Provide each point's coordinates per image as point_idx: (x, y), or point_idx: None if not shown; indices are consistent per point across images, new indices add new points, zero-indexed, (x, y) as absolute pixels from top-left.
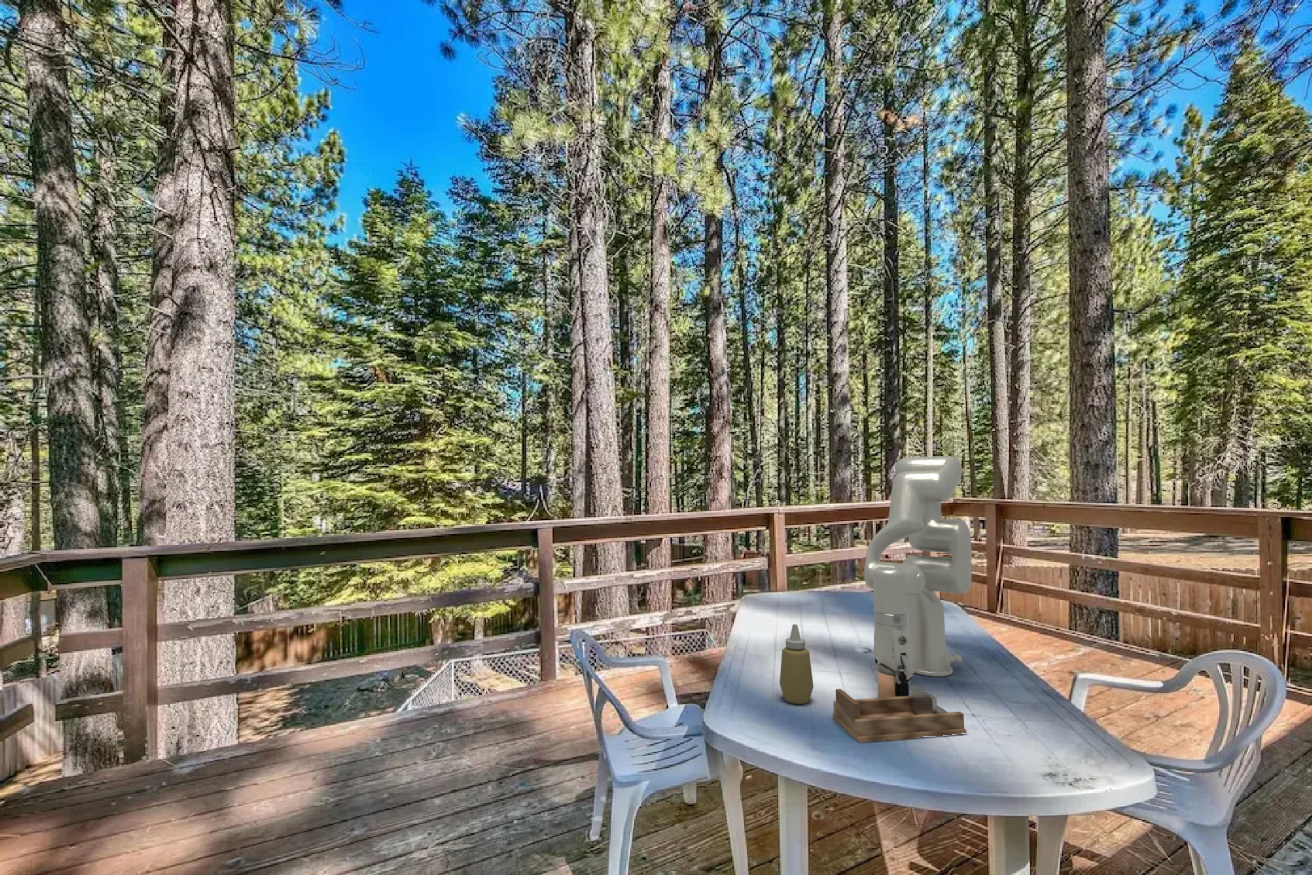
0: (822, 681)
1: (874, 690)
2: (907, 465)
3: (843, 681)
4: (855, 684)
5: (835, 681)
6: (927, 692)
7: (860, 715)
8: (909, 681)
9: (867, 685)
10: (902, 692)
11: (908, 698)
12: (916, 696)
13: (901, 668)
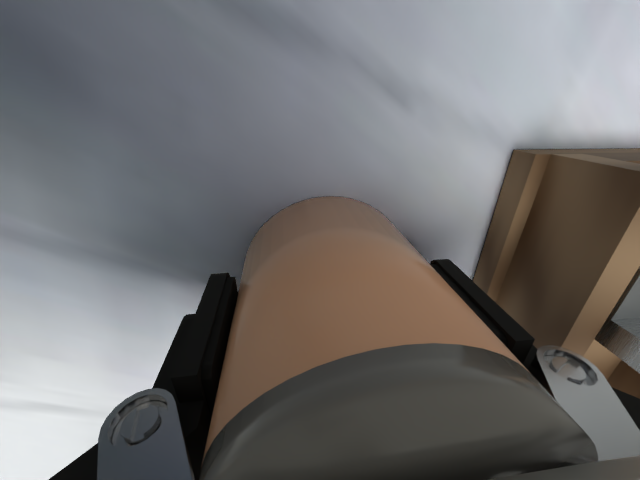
0: (49, 466)
1: (159, 305)
2: None
3: (19, 400)
4: (62, 363)
5: (32, 428)
6: None
7: None
8: (591, 367)
9: (66, 312)
10: None
11: (581, 353)
12: None
13: (499, 476)
